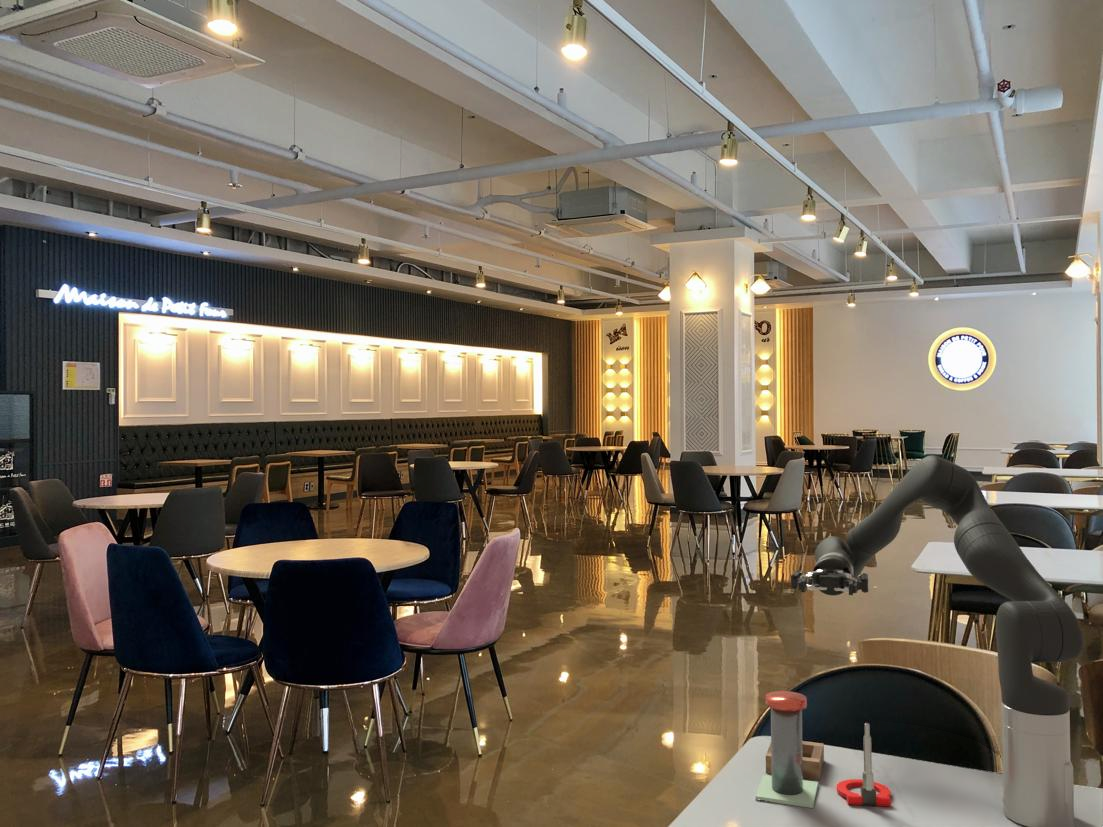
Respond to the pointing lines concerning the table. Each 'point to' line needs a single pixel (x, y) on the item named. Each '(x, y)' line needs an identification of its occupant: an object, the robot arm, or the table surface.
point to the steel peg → (786, 741)
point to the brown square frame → (806, 759)
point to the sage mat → (798, 800)
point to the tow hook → (866, 782)
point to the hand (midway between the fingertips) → (826, 588)
